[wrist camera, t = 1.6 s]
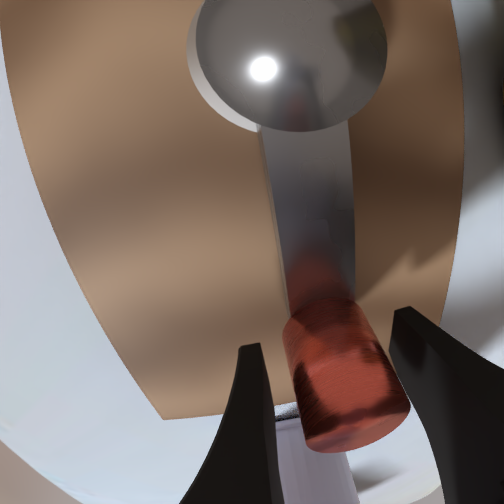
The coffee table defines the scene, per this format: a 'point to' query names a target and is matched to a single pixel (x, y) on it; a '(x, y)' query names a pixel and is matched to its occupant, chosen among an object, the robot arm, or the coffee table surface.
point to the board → (221, 185)
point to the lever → (311, 193)
